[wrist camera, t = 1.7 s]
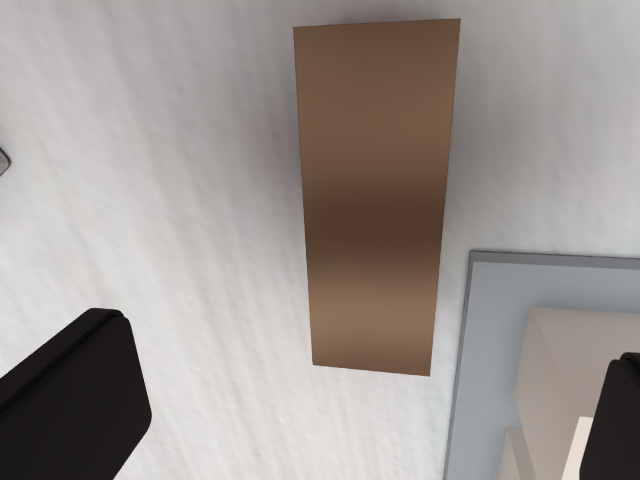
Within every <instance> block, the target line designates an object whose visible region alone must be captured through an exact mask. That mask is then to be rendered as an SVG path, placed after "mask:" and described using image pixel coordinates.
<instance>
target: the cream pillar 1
mask: <svg viewBox="0 0 640 480" xmlns="http://www.w3.org/2000/svg"><path fill="white" fill-rule="evenodd" d="M496 480H537V478H536V474H535V471H534V467H533V464H532V460H531V457H530V453H529V450H528V447H527V443H526V440H525V436H524V433H523V429H522V428H517V427H508V426H507V428H506V433H505V438H504V443H503V448H502V453H501V459H500V464H499V469H498V474H497V479H496Z"/></svg>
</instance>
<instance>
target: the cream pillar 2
mask: <svg viewBox="0 0 640 480" xmlns="http://www.w3.org/2000/svg"><path fill="white" fill-rule="evenodd" d="M625 352H636V353H640V314H634V313H619V312H604V311H590V310H575V309H560V308H545V307H530V309H529V315H528V320H527V325H526V330H525V335H524V340H523V345H522V351H521V356H520V361H519V366H518V371H517V376H516V381H515V387H514V392H513V398H514V402H515V405H516V409H517V412H518V415H519V419H520V422H521V426H522V429H523V433H524V436H525V440H526V443H527V447H528V450H529V453H530V457H531V460H532V464H533V467H534V471H535V474H536V478H537V480H579V469H580V465H581V461H582V458H583V454H584V451H585V447H586V443H587V440H588V436H589V433H590V429H591V426H592V422H593V418H594V415H595V411H596V408H597V404H598V401H599V397H600V394H601V390H602V386H603V383H604V379H605V376H606V372H607V369H608V365H609V363H610V362H611V361H612V360H614V359H618V360H619V359H620V357H621V355H622V354H623V353H625Z"/></svg>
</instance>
